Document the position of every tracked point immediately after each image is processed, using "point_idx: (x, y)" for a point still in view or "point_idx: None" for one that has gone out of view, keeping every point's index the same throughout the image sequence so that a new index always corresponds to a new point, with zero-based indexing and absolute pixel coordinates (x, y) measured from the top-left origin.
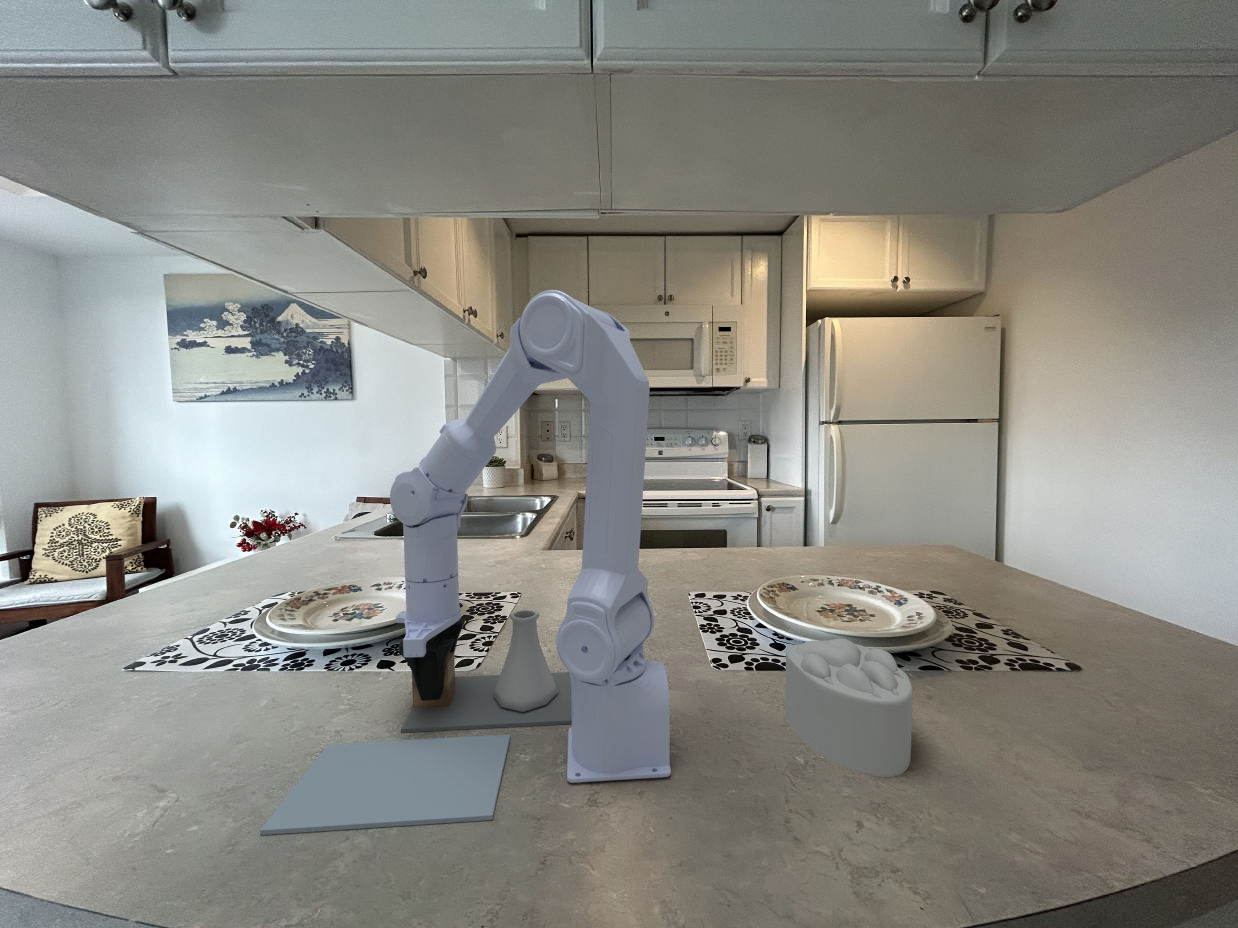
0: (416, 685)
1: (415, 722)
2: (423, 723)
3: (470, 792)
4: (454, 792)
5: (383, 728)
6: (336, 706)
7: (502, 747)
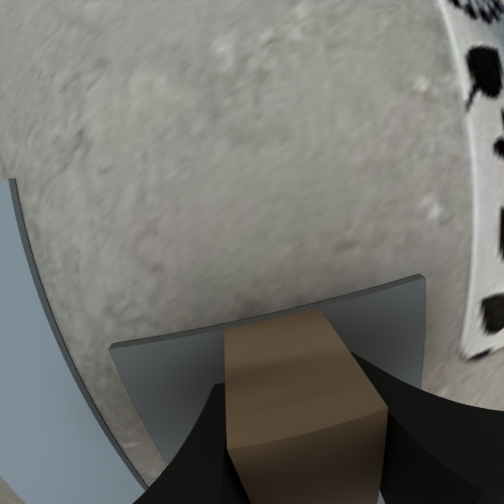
0: (199, 415)
1: (150, 373)
2: (151, 395)
3: (36, 491)
4: (24, 477)
5: (117, 280)
6: (224, 27)
7: None
